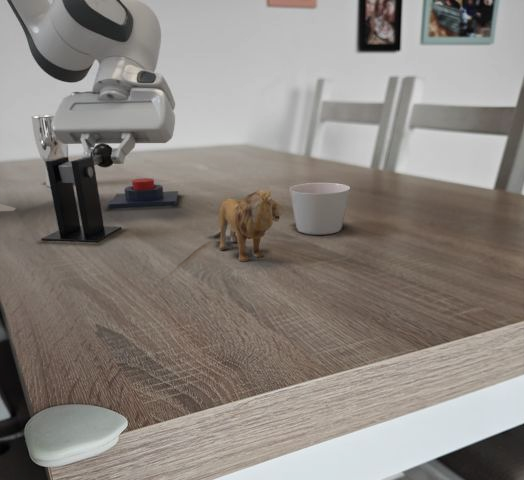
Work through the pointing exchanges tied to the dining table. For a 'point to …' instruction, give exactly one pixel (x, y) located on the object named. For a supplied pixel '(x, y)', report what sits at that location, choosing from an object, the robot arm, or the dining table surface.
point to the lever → (100, 158)
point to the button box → (144, 198)
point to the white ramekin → (319, 207)
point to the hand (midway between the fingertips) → (102, 161)
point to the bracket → (87, 202)
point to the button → (143, 184)
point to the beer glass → (47, 141)
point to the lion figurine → (248, 220)
